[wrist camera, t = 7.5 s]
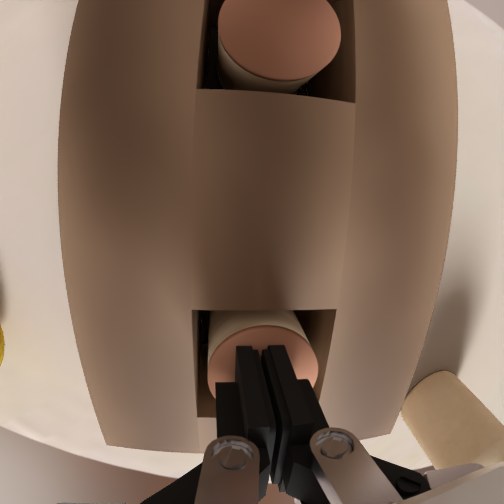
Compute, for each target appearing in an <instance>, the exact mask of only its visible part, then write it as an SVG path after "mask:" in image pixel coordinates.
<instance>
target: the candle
mask: <svg viewBox="0 0 504 504" xmlns="http://www.w3.org/2000/svg"><path fill="white" fill-rule="evenodd" d="M401 415H402V417H403V420H404V422H405V423H406V425H407V426H408V428H409V429H410V431H411V432H412V434H413V435H414V437H415V438H416V440H417V441H418V443H419V444H420V446H421V447H422V449H423V451H424V452H425V454H426V455H427V457H428V458H429V460H430V461H431V463H432V464H433V466H434V467H435V469H436V470H438V469H443V468H449V467H454V466H459V465H464V464H469V463H477V464H481V465H483V466H484V467H486V466H489V465H492V464H495V463H499V462H503V461H504V426H503V425H502V424H501V423H500V421H499V420H498V419H497V418H496V417H495V416H494V415H493V414H492V413H491V412H490V411H489V410H488V409H487V408H486V407H485V405H484V404H483V403H482V402H481V401H480V400H479V399H478V398H477V397H476V396H475V395H474V394H473V393H472V392H471V391H470V390H469V389H468V388H467V387H466V386H465V385H464V384H463V383H462V382H461V381H460V380H459V379H458V378H457V377H456V376H455V375H454V374H453V373H451V372H449V371H439V372H436V373H433V374H431V375H429V376H428V377H426V378H425V379H423V380H422V381H421V382H419V383H418V384H417V385H416V386H415V387H414V388H413V389H412V390H411V392H410V393H409V394H408V396H407V397H406V399H405V400H404V403H403V405H402V409H401Z"/></svg>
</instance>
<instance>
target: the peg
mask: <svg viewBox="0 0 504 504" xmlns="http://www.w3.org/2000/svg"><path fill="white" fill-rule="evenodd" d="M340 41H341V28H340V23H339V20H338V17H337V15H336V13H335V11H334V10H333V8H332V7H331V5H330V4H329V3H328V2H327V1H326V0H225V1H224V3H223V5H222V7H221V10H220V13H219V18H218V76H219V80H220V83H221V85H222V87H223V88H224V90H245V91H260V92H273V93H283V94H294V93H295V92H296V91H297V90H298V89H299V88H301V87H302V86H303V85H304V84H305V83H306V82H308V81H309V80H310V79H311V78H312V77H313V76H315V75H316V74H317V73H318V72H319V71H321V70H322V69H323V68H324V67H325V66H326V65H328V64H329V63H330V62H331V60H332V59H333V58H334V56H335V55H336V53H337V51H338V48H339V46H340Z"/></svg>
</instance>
